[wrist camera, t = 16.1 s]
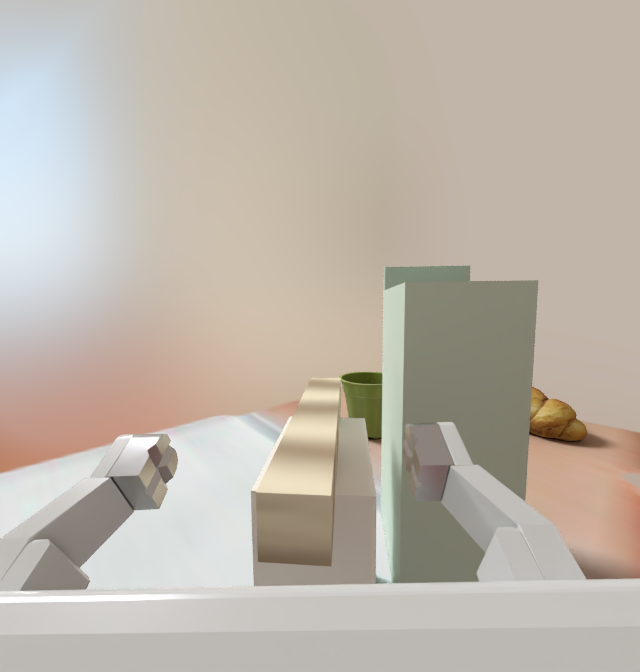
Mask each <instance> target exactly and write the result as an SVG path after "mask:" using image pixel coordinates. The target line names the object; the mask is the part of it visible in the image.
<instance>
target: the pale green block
mask: <svg viewBox="0 0 640 672" xmlns="http://www.w3.org/2000/svg"><path fill="white" fill-rule="evenodd" d="M383 288H384V289H383V368H382V370H383V371H382V449H381V516H382V522H383V529H384V535H385V541H386V548H387V554H388V560H389V567H390V573H391V579H392V583H433V582H479V580H478V577H477V574H476V573H477V571H478V569H479V566H480V564H481V562H482V560H483V558H484V556H485V552H484V551H483V550H482V548H481V547H480V546H479V545H478V544H477V543H476V542H475V540H474V539H473V538H472V537H471V536H470V535H469V534H468V532H467V531H466V530H465V529H464V528H463V527H462V526H461V524H460V523H459V522H458V521H457V520H456V519H455V518H454V516H453V515H452V514H451V513H450V512H449V511H448V510H447V509H446V507H445V506H444V505H443V504H442V503H441V501H414V498H413V494H412V490H411V487H410V483H409V480H410V472H409V471H408V470H407V469H406V467H405V462H404V457H403V440H405V439H406V436H405V432H404V431H405V426H406V424H413V423H432V422H436V423H437V422H453V423H454V424H455V426H456V428H457V430H458V432H459V434H460V437H461V439H462V441H463V443H464V445H465V447H466V450H467V452H468V454H469V456H470V458H471V460H472V462H473V465H479V466H481V467H482V468H483V469H484V470H486V471H487V472H488V473H489V474H491V475H492V476H493V477H495V478H496V479H497V480H498V481H500V482H501V483H502V484H503V485H505V486H506V487H507V488H508V489H510V490H511V491H512V492H513V493H515V494H516V495H517V496H519V497H520V498H521V499H522V500H524V501H525V496H526V479H527V462H528V445H529V428H530V411H531V394H532V377H533V361H534V343H535V326H536V310H537V309H536V308H537V293H538V292H537V291H538V280H536V281H535V280H534V281H470V266H430V267H385V268H384V287H383Z"/></svg>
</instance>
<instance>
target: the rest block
mask: <svg viewBox="0 0 640 672" xmlns="http://www.w3.org/2000/svg"><path fill="white" fill-rule="evenodd" d="M291 419H292V417H289V419H288V421H287V423H286V425H285V427H284V429H283V430H282V432H281V434H280V436H279V438H278V440H277V442H276V444H275V446H274V448H273V450H272V452H271V453H270V455H269V457H268V459H267V461H266V463H265V465H264V467H263V469H262V471H261V473H260V474H259V476H258V478H257V480H256V482H255V484H254V486H253V488H252V490H251V508H252V541H253V575H254V586H282V585H331V584H375V574H376V491H375V484H374V477H373V470H372V464H371V457H370V450H369V443H368V437H367V430H366V423H365V418H340V426H339V443H338V461H337V478H336V495H335V512H334V530H333V547H332V564H331V567H330V566H313V565H297V564H281V563H265V562H258V550H257V514H256V491H257V489H258V487H259V485H260V483H261V481H262V479H263V477H264V475H265V472H266V470H267V468H268V466H269V464H270V462H271V460H272V458H273V456H274V454H275V452H276V450H277V448H278V446H279V444H280V441H281V439H282V437H283V435H284V433H285V431H286V429H287V427H288V425H289V423H290V421H291Z"/></svg>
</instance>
